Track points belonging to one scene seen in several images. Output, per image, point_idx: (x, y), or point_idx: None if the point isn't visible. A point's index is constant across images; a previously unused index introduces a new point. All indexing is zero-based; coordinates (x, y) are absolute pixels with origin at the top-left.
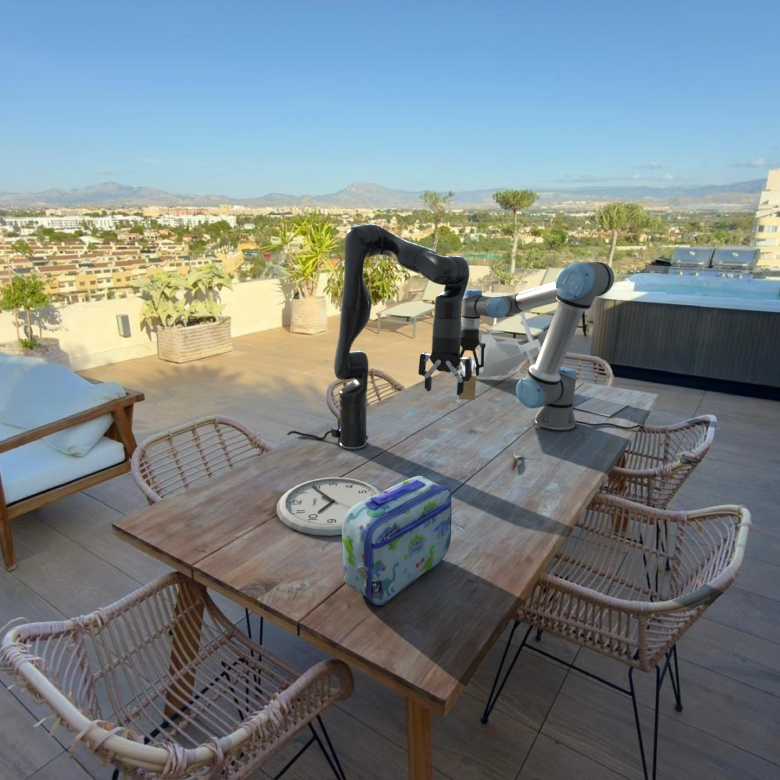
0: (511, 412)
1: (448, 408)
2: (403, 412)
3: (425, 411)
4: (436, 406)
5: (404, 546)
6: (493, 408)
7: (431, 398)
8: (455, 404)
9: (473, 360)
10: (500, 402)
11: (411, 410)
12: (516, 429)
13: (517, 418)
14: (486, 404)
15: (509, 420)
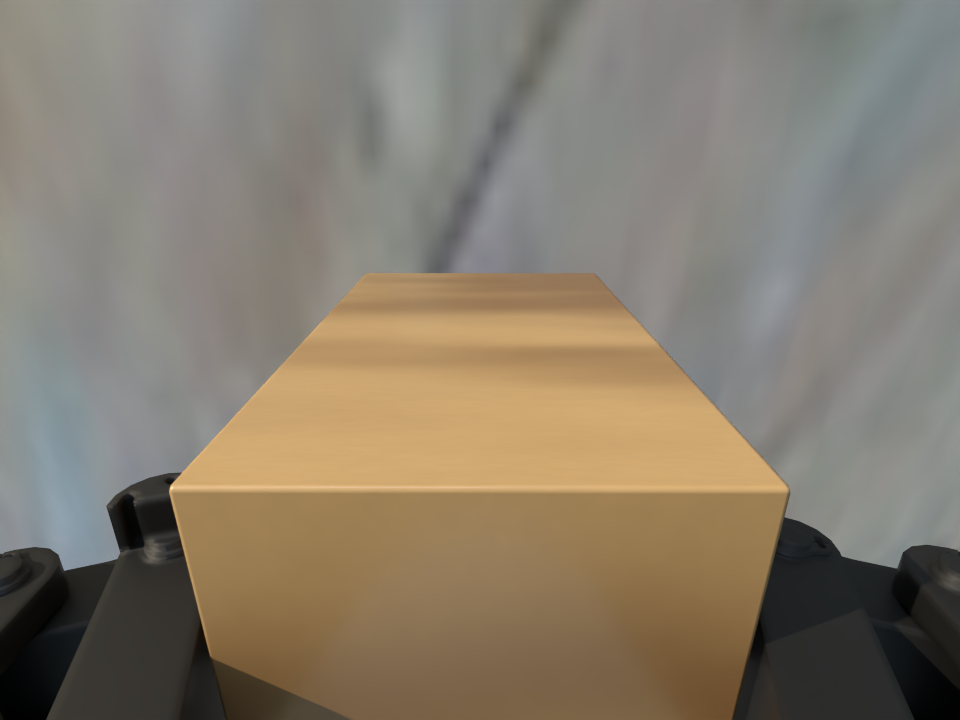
0: (882, 348)
1: None
2: (10, 489)
3: (164, 442)
4: (222, 307)
5: None
6: (746, 270)
7: (108, 50)
8: (388, 216)
9: (728, 511)
10: (874, 51)
11: (50, 439)
12: None
13: (880, 472)
14: (701, 157)
15: (803, 518)
